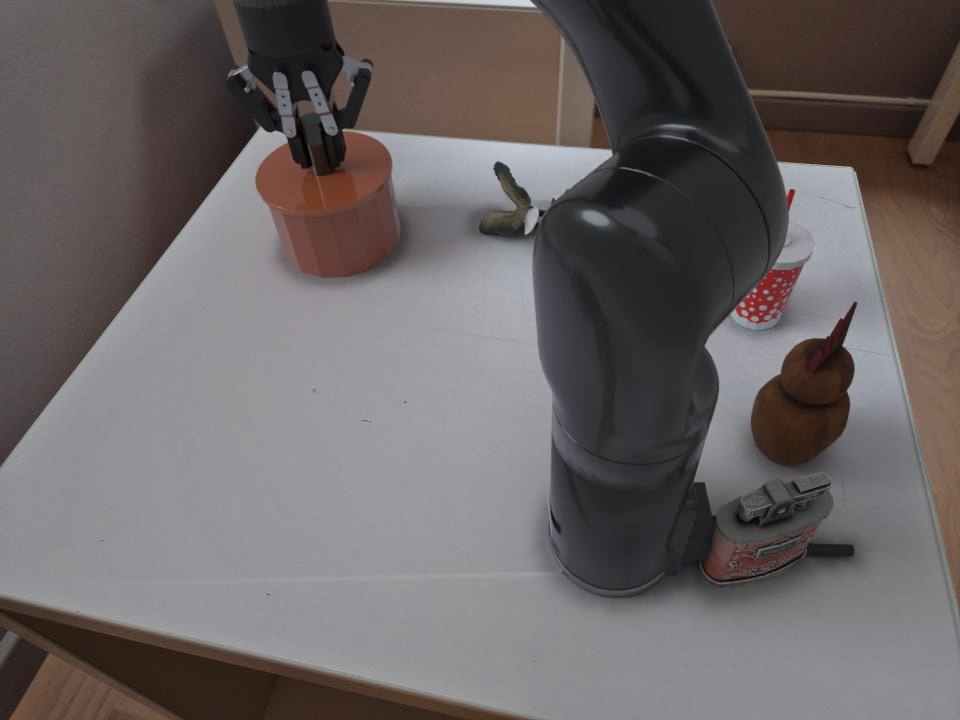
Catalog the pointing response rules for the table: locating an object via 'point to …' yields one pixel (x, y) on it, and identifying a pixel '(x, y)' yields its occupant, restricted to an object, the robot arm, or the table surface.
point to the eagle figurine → (511, 220)
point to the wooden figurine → (806, 399)
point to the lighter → (766, 531)
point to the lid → (323, 174)
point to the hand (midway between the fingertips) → (322, 162)
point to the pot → (341, 237)
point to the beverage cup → (777, 280)
